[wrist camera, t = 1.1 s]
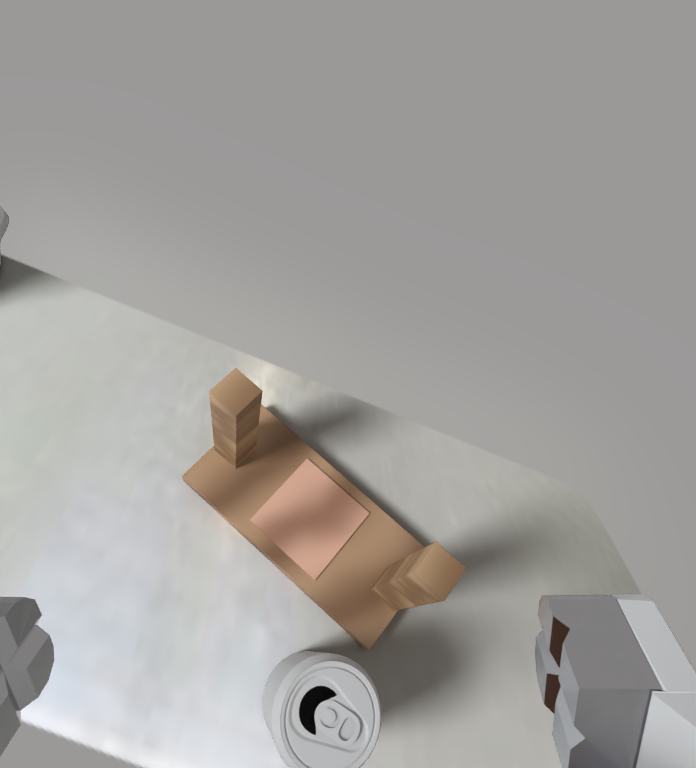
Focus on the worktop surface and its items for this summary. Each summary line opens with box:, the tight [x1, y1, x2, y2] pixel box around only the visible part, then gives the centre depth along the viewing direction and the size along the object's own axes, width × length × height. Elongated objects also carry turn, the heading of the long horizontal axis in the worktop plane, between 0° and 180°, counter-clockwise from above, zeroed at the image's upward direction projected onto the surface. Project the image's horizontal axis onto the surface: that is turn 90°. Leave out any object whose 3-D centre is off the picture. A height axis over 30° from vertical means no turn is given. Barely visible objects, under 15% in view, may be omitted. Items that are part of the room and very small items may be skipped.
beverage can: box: [263, 651, 381, 768], centre depth 36 cm, size 6×6×12 cm
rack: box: [182, 368, 466, 650], centre depth 41 cm, size 20×9×14 cm, turn 51°
